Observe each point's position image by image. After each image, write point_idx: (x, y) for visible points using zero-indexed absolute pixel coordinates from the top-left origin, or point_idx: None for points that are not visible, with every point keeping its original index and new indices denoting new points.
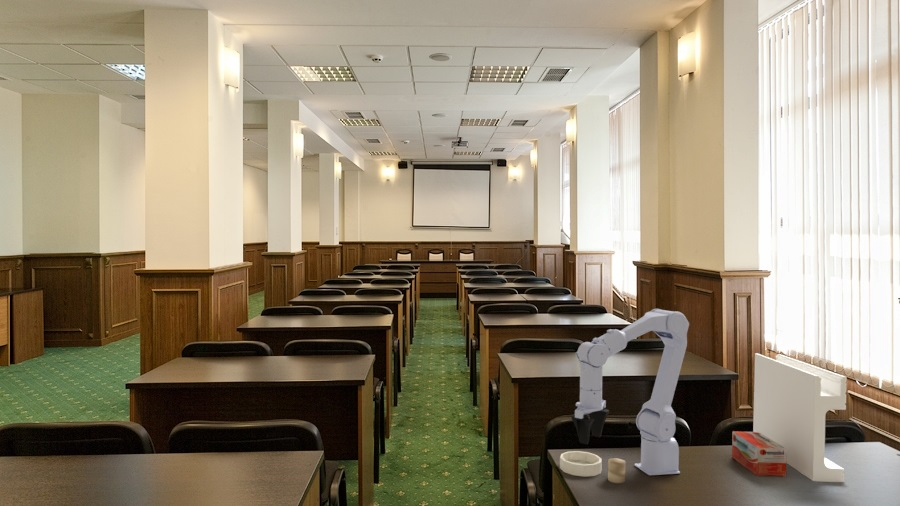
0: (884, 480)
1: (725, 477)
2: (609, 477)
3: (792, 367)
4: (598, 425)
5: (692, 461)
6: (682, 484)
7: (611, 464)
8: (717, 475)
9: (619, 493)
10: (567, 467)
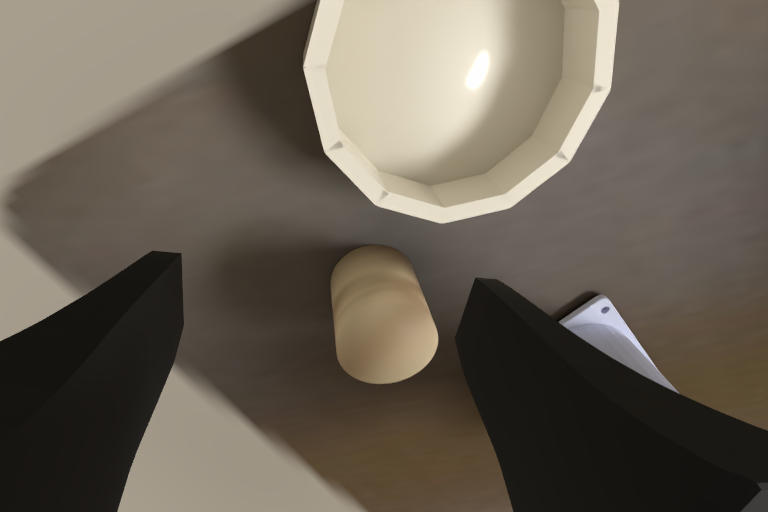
0: None
1: None
2: (340, 271)
3: None
4: (508, 417)
5: None
6: (456, 454)
7: (340, 327)
8: None
9: (213, 336)
10: (316, 7)
